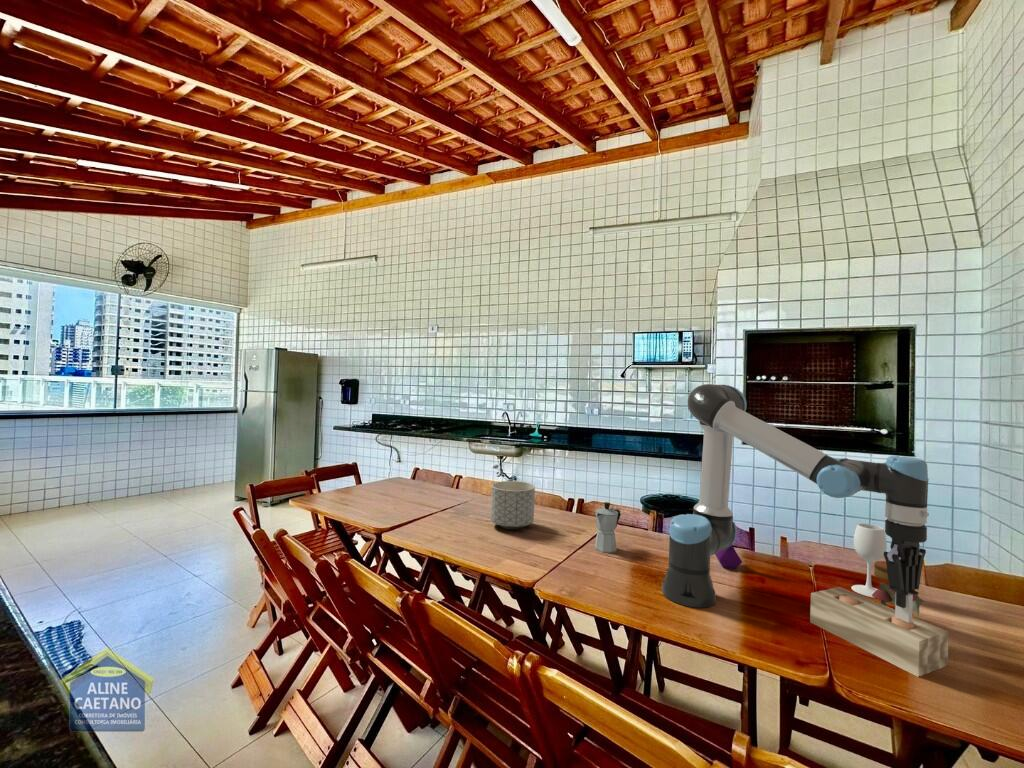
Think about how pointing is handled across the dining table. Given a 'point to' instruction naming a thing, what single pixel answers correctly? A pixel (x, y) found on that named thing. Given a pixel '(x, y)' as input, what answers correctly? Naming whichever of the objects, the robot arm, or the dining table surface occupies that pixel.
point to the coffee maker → (606, 528)
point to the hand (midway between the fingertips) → (903, 619)
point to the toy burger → (886, 593)
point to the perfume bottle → (729, 558)
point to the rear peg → (848, 600)
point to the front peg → (903, 623)
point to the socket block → (880, 631)
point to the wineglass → (869, 551)
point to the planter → (512, 504)
